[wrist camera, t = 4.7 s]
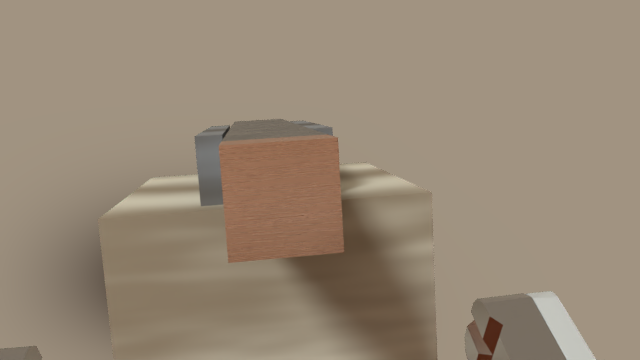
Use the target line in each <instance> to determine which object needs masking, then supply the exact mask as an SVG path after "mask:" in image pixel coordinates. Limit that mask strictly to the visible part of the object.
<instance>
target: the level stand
mask: <svg viewBox="0 0 640 360" xmlns="http://www.w3.org/2000/svg"><path fill="white" fill-rule="evenodd" d="M290 122H292V123H295V124H298V125H301V126H304V127H307V128H310V129H313V130H316V131H319V132H322V133H325V134H328V135H331V136H333V134H332V127H328V126H324V125H319V124H315V123H311V122H306V121H290ZM229 129H230V126H229V125H228V126H212V127H210V128H208V129H207V130H205V131H203V132H202V133H200V134H198V135H197V136H195V145H196V158H197V169H198V174H197V175H184V176H169V177H156V178H151V179H150V180H149V181H147V182H146V183H145V184H143V185H142V186H141V187H139V188H138V189H137V190H136V191H134V192H133V193H132V194H130V195H129V196H128V197H126V198H125V199H124V200H122V201H121V202H120V203H119V204H117V205H116V206H115V207H113V208H112V209H111V210H110V211H108V212H107V213H106V214H104V215H103V216H102V217H100V218H99V219H98V223H99V232H100V241H101V250H102V259H103V268H104V277H105V285H106V295H107V303H108V312H109V321H110V330H111V339H112V347H113V357H114V360H437V337H436V308H435V281H434V280H435V279H434V278H435V277H434V248H433V219H432V193H431V192H430V191H428V190H425V189H423V188H421V187H419V186H417V185H414V184H412V183H410V182H408V181H406V180H403V179H401V178H399V177H397V176H395V175H393V174H390V173H388V172H386V171H384V170H382V169H379V168H377V167H375V166H373V165H371V164H368V163H366V162H361V163H347V164H339V167H340V186H341V204H342V222H343V240H344V252H343V253H332V254H321V255H311V256H300V257H289V258H278V259H267V260H256V261H245V262H234V263H228V253H227V241H226V229H225V217H224V205H223V193H222V181H221V169H220V156H219V144H220V143H221V141H222V140H223V138H224V137H225V135H226V134H227V132H228V131H229Z"/></svg>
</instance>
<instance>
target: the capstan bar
mask: <svg viewBox="0 0 640 360" xmlns="http://www.w3.org/2000/svg"><path fill="white" fill-rule="evenodd" d="M219 156H220V169H221V181H222V193H223V205H224V217H225V229H226V241H227V253H228V263H234V262H245V261H256V260H267V259H278V258H289V257H300V256H311V255H321V254H332V253H343V252H344V240H343V222H342V204H341V186H340V167H339V150H338V138H337V137H334V136H331V135H328V134H325V133H322V132H319V131H316V130H313V129H310V128H307V127H304V126H301V125H298V124H295V123H292V122H289V121H285V120H283V119H272V120H256V121H242V122H241V121H240V122H234V124H233V125H232V127H231V128H230V129H229V131H228V132H227V134H226V135H225V137H224V138H223V140H222V141H221V143H220V144H219Z"/></svg>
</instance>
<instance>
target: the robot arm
mask: <svg viewBox="0 0 640 360" xmlns="http://www.w3.org/2000/svg"><path fill="white" fill-rule="evenodd" d="M471 313H472V315H473V317H474V321H473V322H472V323H470V324H469V325H468V326H467V329H466V334H465V351H466V355H467V359H468V360H596V358H595V356H594V355H593V353H592V352H591V350H590V348H589V347H588V345H587V344H586V342H585V340H584V339H583V337H582V335H581V334H580V332H579V331H578V329H577V328H576V326H575V324H574V322H573V321H572V319H571V318H570V316H569V315H568V313H567V311H566V310H565V308H564V306H563V305H562V303H561V302H560V300H559V298H558V297H557V295H556V294H554V293H553V292H552V291H548V292H538V293H529V294H515V295H506V296H498V297H489V298H481V299H477V300H476V301H475V302H474V303H473V306H472V310H471ZM41 359H42V356H41V354H40V352H39V350H38V348H37V347H36V346H29V347H17V348H4V349H0V360H41Z"/></svg>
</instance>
